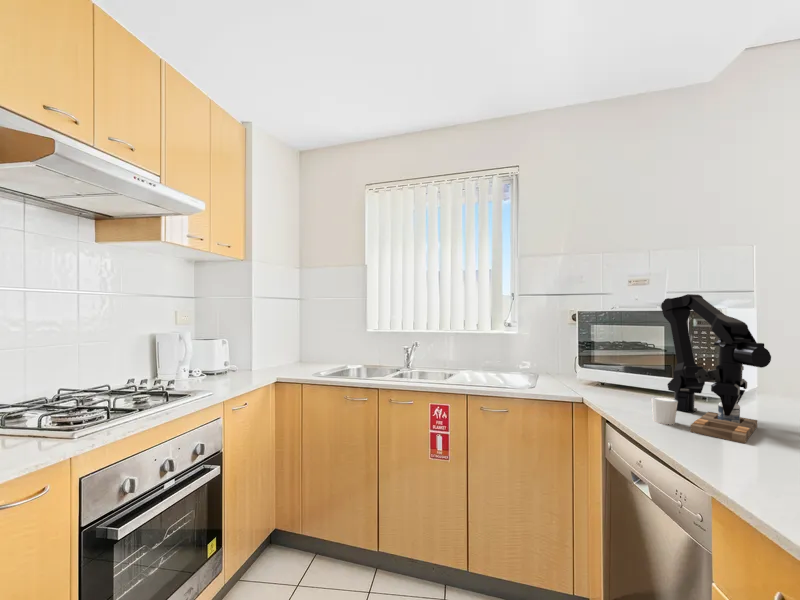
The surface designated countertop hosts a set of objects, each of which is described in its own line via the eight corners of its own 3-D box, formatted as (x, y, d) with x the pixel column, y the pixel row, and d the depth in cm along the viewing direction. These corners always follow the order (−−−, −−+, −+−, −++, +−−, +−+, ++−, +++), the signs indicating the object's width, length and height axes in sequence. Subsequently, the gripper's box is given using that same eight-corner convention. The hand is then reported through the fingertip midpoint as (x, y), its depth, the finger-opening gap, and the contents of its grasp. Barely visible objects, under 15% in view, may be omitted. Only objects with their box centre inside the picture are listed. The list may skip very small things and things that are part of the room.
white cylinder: (651, 422, 127) (652, 399, 127) (650, 417, 133) (650, 395, 133) (678, 426, 124) (679, 402, 124) (675, 421, 130) (676, 398, 130)
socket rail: (708, 417, 135) (708, 410, 135) (757, 426, 126) (757, 419, 126) (690, 431, 119) (690, 423, 119) (744, 443, 110) (745, 434, 110)
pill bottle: (718, 422, 130) (719, 393, 130) (739, 425, 127) (740, 396, 127) (717, 425, 126) (718, 396, 126) (739, 429, 123) (740, 399, 123)
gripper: (704, 357, 139) (703, 404, 139) (691, 361, 126) (689, 413, 126) (748, 361, 131) (746, 411, 131) (738, 366, 118) (736, 421, 118)
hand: (728, 413), depth 127 cm, fingers closed on pill bottle, 5 cm apart
